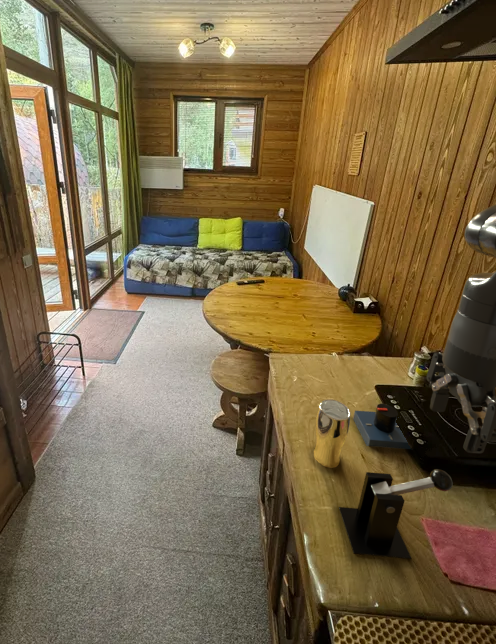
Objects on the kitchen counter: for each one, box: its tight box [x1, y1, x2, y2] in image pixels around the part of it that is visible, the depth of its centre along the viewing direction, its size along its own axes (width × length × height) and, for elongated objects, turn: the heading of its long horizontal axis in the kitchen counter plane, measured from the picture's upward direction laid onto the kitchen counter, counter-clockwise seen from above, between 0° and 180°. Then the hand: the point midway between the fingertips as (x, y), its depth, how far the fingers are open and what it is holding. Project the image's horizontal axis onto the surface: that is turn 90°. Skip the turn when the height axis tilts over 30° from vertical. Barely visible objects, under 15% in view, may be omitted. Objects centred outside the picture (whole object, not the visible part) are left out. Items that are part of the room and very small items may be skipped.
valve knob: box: [373, 403, 399, 433], centre depth 80 cm, size 5×5×5 cm
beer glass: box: [313, 398, 352, 468], centre depth 72 cm, size 7×7×15 cm
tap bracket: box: [338, 471, 412, 560], centre depth 57 cm, size 10×8×13 cm
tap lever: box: [371, 468, 454, 495], centre depth 54 cm, size 13×3×3 cm, turn 87°
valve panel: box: [353, 410, 412, 450], centre depth 81 cm, size 11×10×3 cm
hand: (452, 429), depth 51 cm, fingers open, 8 cm apart
